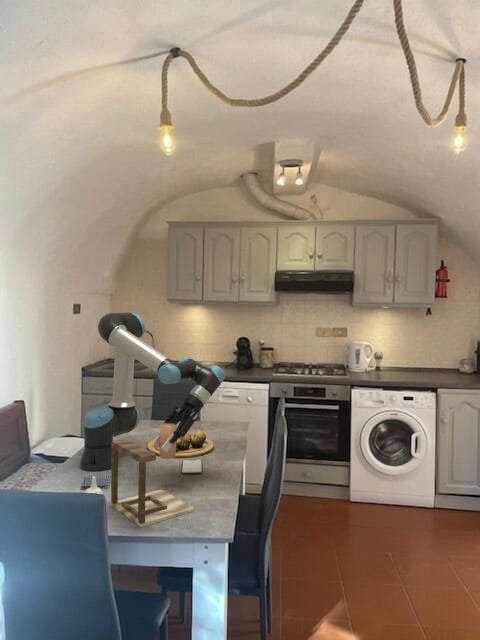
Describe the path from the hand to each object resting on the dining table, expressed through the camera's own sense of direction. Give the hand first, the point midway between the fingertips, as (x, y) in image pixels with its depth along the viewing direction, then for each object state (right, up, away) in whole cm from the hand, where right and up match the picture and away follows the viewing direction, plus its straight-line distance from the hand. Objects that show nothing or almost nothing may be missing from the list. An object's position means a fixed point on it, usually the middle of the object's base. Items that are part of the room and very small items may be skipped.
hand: (159, 447), depth 184 cm
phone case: (+10, -16, +25) cm, 31 cm away
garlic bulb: (-22, -16, -9) cm, 29 cm away
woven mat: (-25, -16, +4) cm, 30 cm away
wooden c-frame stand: (0, -16, -17) cm, 23 cm away
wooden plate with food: (+1, -15, +54) cm, 56 cm away
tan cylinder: (+3, -4, +2) cm, 5 cm away
